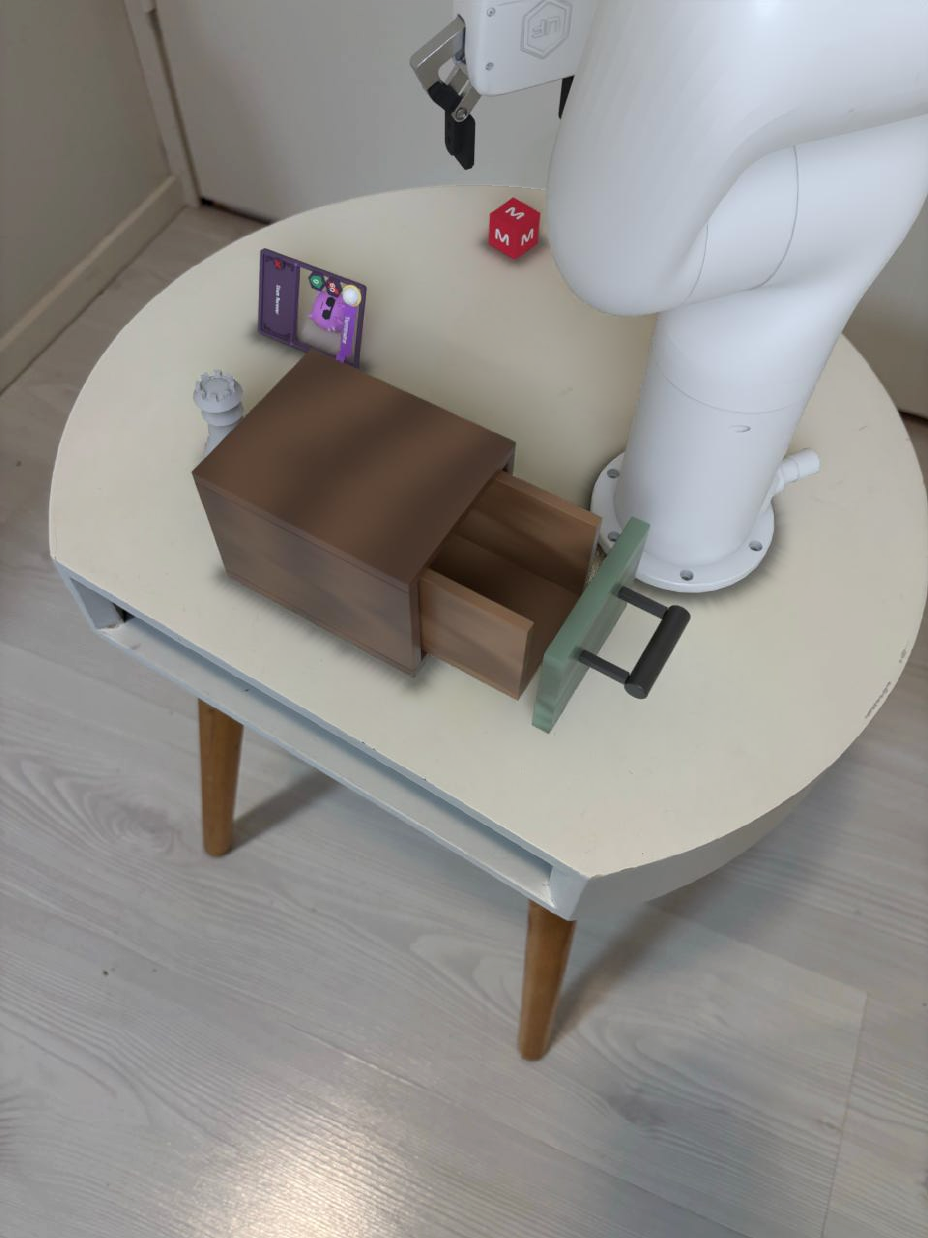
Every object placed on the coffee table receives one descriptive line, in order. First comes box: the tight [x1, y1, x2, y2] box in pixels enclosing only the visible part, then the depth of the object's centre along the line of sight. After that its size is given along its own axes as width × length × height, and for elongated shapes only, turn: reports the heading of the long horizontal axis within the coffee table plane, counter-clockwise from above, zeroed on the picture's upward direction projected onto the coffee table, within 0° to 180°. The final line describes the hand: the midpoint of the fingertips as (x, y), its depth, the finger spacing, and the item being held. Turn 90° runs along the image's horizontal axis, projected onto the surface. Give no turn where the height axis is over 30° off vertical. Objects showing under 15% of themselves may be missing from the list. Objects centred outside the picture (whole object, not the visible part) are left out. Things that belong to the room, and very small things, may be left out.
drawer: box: [417, 470, 692, 735], centre depth 58 cm, size 18×11×9 cm, turn 59°
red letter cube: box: [488, 196, 541, 260], centre depth 81 cm, size 3×3×3 cm
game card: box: [257, 247, 368, 370], centre depth 74 cm, size 7×5×9 cm
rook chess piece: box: [192, 369, 245, 459], centre depth 66 cm, size 4×4×8 cm
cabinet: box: [190, 348, 517, 679], centre depth 61 cm, size 15×12×11 cm
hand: (516, 142), depth 75 cm, fingers open, 9 cm apart
